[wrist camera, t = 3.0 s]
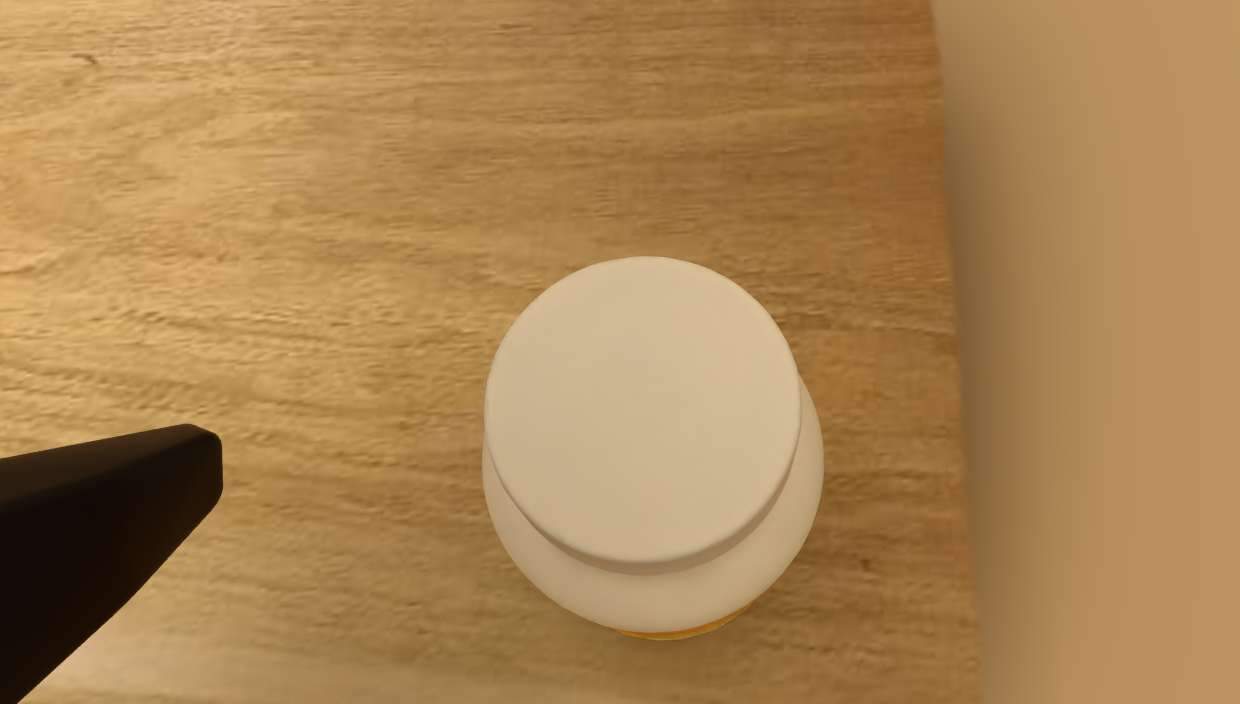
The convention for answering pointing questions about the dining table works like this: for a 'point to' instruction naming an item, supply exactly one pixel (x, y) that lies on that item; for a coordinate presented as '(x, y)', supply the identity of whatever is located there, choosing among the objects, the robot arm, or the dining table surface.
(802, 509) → the supplement bottle
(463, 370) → the dining table surface
